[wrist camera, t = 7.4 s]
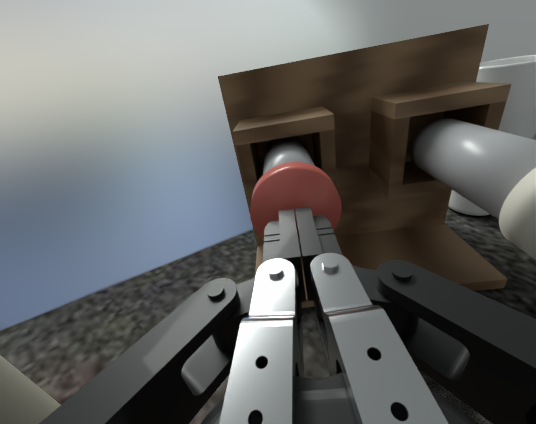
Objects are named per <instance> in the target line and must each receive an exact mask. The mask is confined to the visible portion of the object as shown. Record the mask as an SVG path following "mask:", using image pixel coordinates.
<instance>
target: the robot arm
mask: <svg viewBox="0 0 536 424" xmlns="http://www.w3.org/2000/svg"><path fill="white" fill-rule="evenodd" d="M295 214H296V222H297V228H296V222H295V215H294V209H286V210H279V221H273V222H269V223H268V224H267V226H266V227H265V228H264V246H263V263H262V265H261V266H260V267H259V268H258V270H257V274H256V276H255V277H254V278H252V279H250V280H248V281H246V282H243V283H241V284H238V285H235V283H234V282H233V281H232V280H230V279H226V278H219V279H215V280H212V281H210V282H208V283H207V284H205V285H204V286H203V287H202V288H200V289H199V290H198V291H197V292H196V293H194V294H193V295H192V296H191V297H190V298H188V299H187V300H186V301H185V302H184V303H182V304H181V305H180V306H179V307H178V308H176V309H175V310H174V311H173V312H172V313H170V314H169V315H168V316H167V317H166V318H165V319H163V320H162V321H161V322H160V323H159V324H157V325H156V326H155V327H154V328H153V329H151V330H150V331H149V332H148V333H147V334H145V335H144V336H143V337H142V338H141V339H139V340H138V341H137V342H136V343H135V344H133V345H132V346H131V347H130V348H129V349H127V350H126V351H125V352H124V353H123V354H122V355H120V356H119V357H118V358H117V359H116V360H114V361H113V362H112V363H111V364H110V365H108V366H107V367H106V368H105V369H104V370H102V371H101V372H100V373H99V374H98V375H96V376H95V377H94V378H93V379H92V380H90V381H89V382H88V383H87V384H86V385H84V386H83V387H82V388H81V389H80V390H78V391H77V392H76V393H75V394H74V395H73V396H71V397H70V398H69V399H68V400H67V401H65V402H64V403H63V404H62V405H61V406H59V407H58V408H57V409H56V410H55V411H53V412H52V413H51V414H50V415H49V416H47V417H46V418H45V419H44V420H43V421H41V422H40V423H39V424H189V423H190V421H191V420H192V419H193V418H194V417H195V415H196V414H197V413H198V412H199V410H200V409H201V408H202V407H203V406H204V404H205V403H206V402H207V401H208V399H209V398H210V397H211V396H212V394H213V393H214V392H215V391H216V390H217V388H218V387H219V386H220V385H221V383H222V382H223V381H224V380H225V379H226V377H227V376H228V375H229V374H230V375H229V380H228V384H227V389H226V394H225V398H224V399H223V400H222V401H221V402H220V403H219V404H217V405H216V406H215V407H214V408H213V409H212V411H211V412H210V413H209V414H208V415H207V416H206V418H205V419H204V420H203V422H202V423H201V424H478V423H477V422H475V421H474V420H473V419H472V418H470V417H469V416H468V415H467V414H465V413H464V412H463V411H462V410H460V409H459V408H458V407H457V406H455V405H454V404H453V403H452V402H450V401H449V400H447V399H446V398H444V397H443V396H441V395H440V394H438V393H437V392H435V391H433V390H431V389H430V388H428V386H427V385H426V383H425V381H424V379H423V378H422V376H421V374H420V372H419V371H418V369H417V367H418V368H419V369H420V370H422V371H423V372H424V373H426V374H427V375H428V376H430V377H431V378H432V379H434V380H435V381H436V382H438V383H439V384H440V385H442V386H443V387H444V388H446V389H447V390H448V391H450V392H451V393H453V394H454V395H455V396H457V397H458V398H459V399H461V400H462V401H463V402H465V403H466V404H467V405H469V406H470V407H471V408H473V409H474V410H475V411H477V412H478V413H479V414H481V415H482V416H483V417H485V418H486V419H487V420H489V421H490V422H491V423H493V424H536V319H535V318H533V317H530V316H528V315H526V314H524V313H521V312H519V311H517V310H515V309H513V308H510V307H508V306H506V305H504V304H501V303H499V302H497V301H495V300H493V299H490V298H488V297H486V296H484V295H481V294H479V293H477V292H475V291H472V290H470V289H468V288H466V287H464V286H461V285H459V284H457V283H455V282H452V281H450V280H448V279H446V278H444V277H441V276H439V275H437V274H435V273H432V272H430V271H428V270H426V269H424V268H421V267H419V266H417V265H415V264H412V263H410V262H407V261H402V260H390V261H386V262H384V263H382V264H381V265H380V266H379V267H378V270H372V269H365V268H360V267H357V266H354V265H352V264H351V263H350V262H349V260H348V259H347V258H345V257H344V256H343V255H342V252H341V250H340V247H339V244H338V242H337V239H336V236H335V234H334V231H333V229H332V226H331V223H330V221H329V220H328V219H327V218H326V217H325V216H323V215H318V216H313V215H312V212H311V208H310V206H308V207H301V208H295ZM297 230H298V235H297ZM298 238H299V242H298ZM299 245H300V248H299ZM300 252H301V255H300ZM301 258H302V263H301ZM302 265H303V271H304V278H305V284H306V291H307V297H308V301H314V307H315V315H316V321H317V325H318V329H319V333H320V337H321V340H322V344H323V348H324V352H325V356H326V359H327V363H328V367H329V372H330V377H328V378H325V379H323V380H314V379H309V378H305V377H304V360H303V328H302V314H303V310H302V302H305V301H306V294H305V286H304V279H303V271H302ZM419 317H420V318H419ZM422 319H423V320H422ZM424 320H425V321H424ZM427 322H428V323H427ZM429 323H430V324H429ZM432 325H433V326H432ZM434 326H435V327H434ZM437 328H438V329H437ZM439 329H440V330H439ZM442 331H443V332H442ZM444 332H445V333H444ZM447 334H448V335H447ZM449 335H450V336H449ZM451 336H452V337H451ZM454 338H455V339H454Z"/></svg>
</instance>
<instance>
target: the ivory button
mask: <svg viewBox="0 0 536 424" xmlns="http://www.w3.org/2000/svg"><path fill="white" fill-rule="evenodd" d="M411 157H412V160H413V162H414V164H415V165H416V166H417V167H418V168H420V169H421V170H423V171H424V172H426V173H428V174H429V175H431V176H432V177H434V178H435V179H437V180H438V181H440V182H441V183H443V184H444V185H446V186H447V187H449V188H451V189H452V190H454V191H455V192H457V193H458V194H460V195H461V196H463V197H464V198H466V199H467V200H469V201H470V202H472V203H474V204H475V205H477V206H478V207H480V208H481V209H483V210H484V211H486V212H487V213H489V214H490V215H492V216H494V217H495V218H497V219H498V220H499V227H500V230H501V233H502V234H503V236H504V237H505V238H506V239H507V240H508V241H510V242H511V243H513V244H514V245H515V246H517V247H518V248H520V249H521V250H522V251H524V252H525V253H527V254H528V255H529V256H531V257H532V258H534V259H535V260H536V140H533V139H529V138H526V137H522V136H518V135H514V134H510V133H506V132H502V131H498V130H494V129H491V128H487V127H483V126H479V125H475V124H471V123H467V122H463V121H459V120H456V119H451V118H445V119H440V120H437V121H434V122H432V123H430V124H429V125H427V126H426V127H425V128H424V129H422V130H421V131H420V133H419V134H418V135H417V137H416V138H415V140H414V142H413V145H412V149H411Z"/></svg>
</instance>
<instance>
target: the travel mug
mask: <svg viewBox="0 0 536 424" xmlns="http://www.w3.org/2000/svg"><path fill="white" fill-rule="evenodd" d="M59 406H61V405H60V404H59V403H58V402H56V401H55V400H54V399H53V398H52V397H50V396H49V395H48V394H47V393H45V392H44V391H43V390H42V389H41V388H39V387H38V386H37V385H36V384H34V383H33V382H32V381H31V380H30V379H28V378H27V377H26V376H25V375H23V374H22V373H21V372H20V371H19V370H17V369H16V368H15V367H14V366H12V365H11V364H10V363H9V362H8V361H6V360H5V359H4V358H3V357H1V356H0V424H39V423H40V422H41V421H43V420H44V419H45V418H46V417H47V416H49V415H50V414H51V413H52V412H53V411H55V410H56V409H57V408H58V407H59Z"/></svg>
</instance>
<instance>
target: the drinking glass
mask: <svg viewBox="0 0 536 424" xmlns="http://www.w3.org/2000/svg"><path fill="white" fill-rule="evenodd" d="M476 82H484V83H505V84H511V88H510V91H509V95H508V98H507V102H506V105H505V108H504V112H503V115H502V119H501V122H500V126H499V129H498V131H502V132H506V133H510V134H514V135H518V136H522V137H526V138H529V139H534V137H535V135H536V55H529V56H520V57H513V58H505V59H498V60H492V61H486V62H481V63H480V66H479V71H478V75H477V79H476ZM448 207H449V208H451V209H452V210H454V211H457V212H459V213H463V214H467V215H474V216H485V215H490V214H489V213H487V212H486V211H484V210H483V209H481V208H480V207H478V206H477V205H475V204H474V203H472V202H470V201H469V200H467V199H466V198H464V197H463V196H461V195H460V194H458V193H457V192H455V191H454V190H452V191H451V196H450V200H449V204H448Z"/></svg>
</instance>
